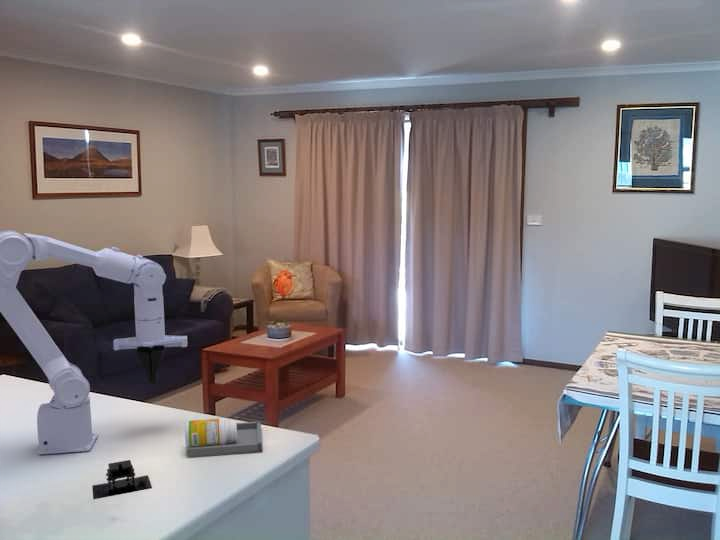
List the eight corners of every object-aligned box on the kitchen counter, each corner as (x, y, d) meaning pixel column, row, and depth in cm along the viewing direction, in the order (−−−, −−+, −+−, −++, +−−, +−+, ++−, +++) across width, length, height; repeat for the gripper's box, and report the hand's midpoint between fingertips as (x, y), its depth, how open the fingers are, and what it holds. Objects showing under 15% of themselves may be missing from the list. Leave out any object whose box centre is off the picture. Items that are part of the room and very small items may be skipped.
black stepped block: (83, 506, 108) (81, 480, 107) (82, 487, 114) (80, 462, 114) (161, 491, 113) (160, 466, 112) (156, 474, 119) (154, 450, 119)
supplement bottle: (186, 429, 131) (236, 425, 133) (186, 454, 128) (237, 449, 130) (185, 416, 127) (236, 412, 129) (184, 441, 124) (237, 436, 126)
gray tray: (187, 457, 125) (187, 449, 125) (192, 433, 137) (192, 425, 136) (262, 451, 127) (261, 444, 127) (260, 428, 139) (260, 421, 139)
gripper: (108, 323, 131) (112, 389, 133) (184, 320, 133) (186, 385, 135) (115, 316, 137) (119, 378, 139) (187, 313, 140) (189, 374, 142)
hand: (153, 381), depth 138 cm, fingers closed
